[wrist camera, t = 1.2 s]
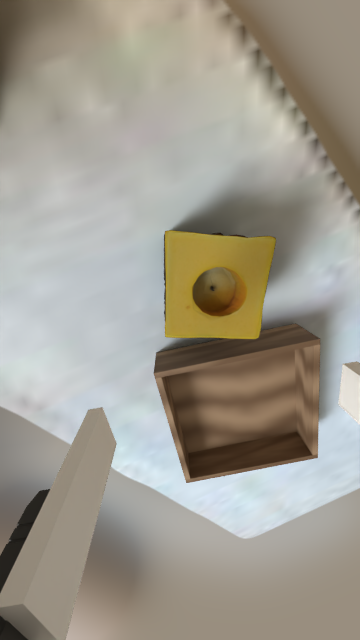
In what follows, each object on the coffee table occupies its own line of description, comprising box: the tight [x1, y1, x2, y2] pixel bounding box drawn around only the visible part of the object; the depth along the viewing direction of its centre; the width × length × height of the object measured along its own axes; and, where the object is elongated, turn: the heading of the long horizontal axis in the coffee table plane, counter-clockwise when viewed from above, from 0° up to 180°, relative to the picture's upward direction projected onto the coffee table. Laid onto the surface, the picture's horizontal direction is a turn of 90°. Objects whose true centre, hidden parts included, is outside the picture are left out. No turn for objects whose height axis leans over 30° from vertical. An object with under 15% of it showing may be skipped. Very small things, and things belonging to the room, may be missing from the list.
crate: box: [154, 324, 320, 483], centre depth 33 cm, size 22×22×6 cm
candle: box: [164, 230, 276, 339], centre depth 24 cm, size 10×10×10 cm
